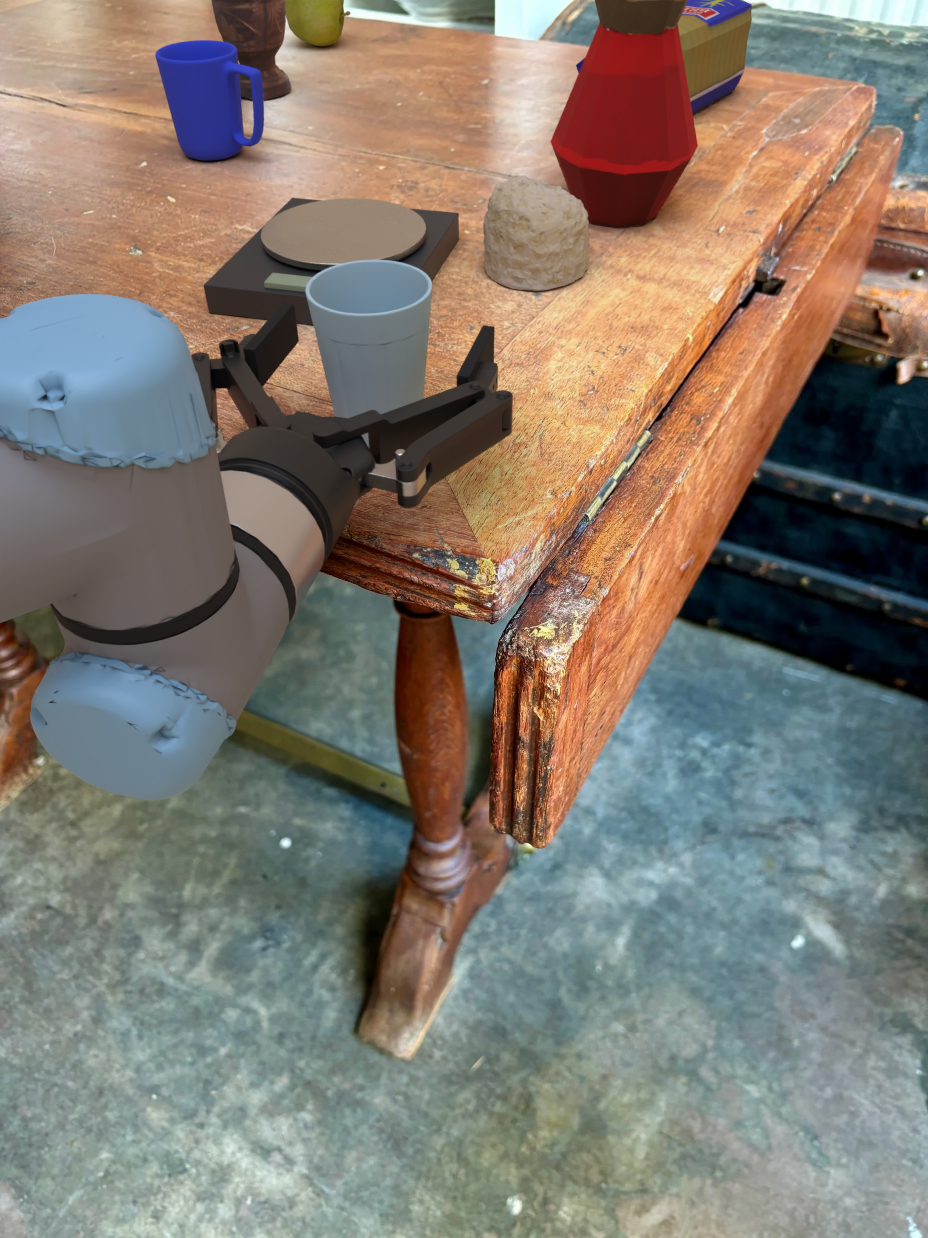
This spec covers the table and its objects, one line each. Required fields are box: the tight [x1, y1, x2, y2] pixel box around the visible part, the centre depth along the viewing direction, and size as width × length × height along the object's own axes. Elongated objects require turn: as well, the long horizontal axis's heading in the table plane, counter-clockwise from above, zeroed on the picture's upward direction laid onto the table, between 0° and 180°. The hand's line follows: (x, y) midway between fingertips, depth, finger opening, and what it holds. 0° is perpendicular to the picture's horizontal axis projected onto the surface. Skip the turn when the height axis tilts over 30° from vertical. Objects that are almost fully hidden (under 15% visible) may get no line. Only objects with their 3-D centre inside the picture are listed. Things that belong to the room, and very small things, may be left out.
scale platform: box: [261, 197, 426, 270], centre depth 85 cm, size 14×14×1 cm
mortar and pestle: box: [211, 0, 292, 100], centre depth 116 cm, size 12×9×20 cm
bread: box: [575, 0, 753, 115], centre depth 114 cm, size 10×25×10 cm, turn 143°
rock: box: [482, 174, 591, 292], centre depth 84 cm, size 9×10×10 cm
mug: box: [154, 39, 265, 162], centre depth 104 cm, size 8×12×10 cm
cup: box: [306, 260, 433, 447], centre depth 64 cm, size 8×8×10 cm
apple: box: [285, 0, 351, 47], centre depth 137 cm, size 8×9×8 cm
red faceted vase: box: [550, 0, 699, 229], centre depth 89 cm, size 16×14×20 cm
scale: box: [203, 197, 460, 326], centre depth 85 cm, size 16×19×3 cm
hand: (388, 332), depth 65 cm, fingers open, 13 cm apart
